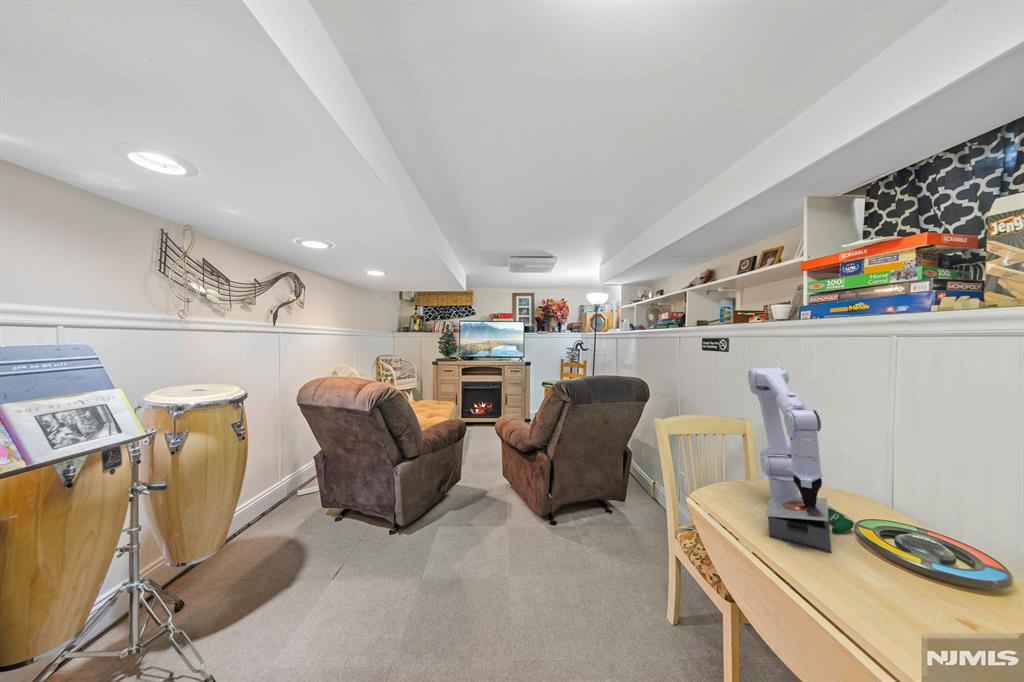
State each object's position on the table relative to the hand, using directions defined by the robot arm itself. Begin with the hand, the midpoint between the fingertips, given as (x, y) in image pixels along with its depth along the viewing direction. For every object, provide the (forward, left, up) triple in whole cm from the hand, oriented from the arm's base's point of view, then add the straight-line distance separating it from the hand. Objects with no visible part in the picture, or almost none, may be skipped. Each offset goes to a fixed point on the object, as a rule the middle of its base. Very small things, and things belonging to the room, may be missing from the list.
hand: (809, 505), depth 87 cm
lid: (0, -3, -2) cm, 3 cm away
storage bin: (0, -3, -8) cm, 9 cm away
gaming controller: (-10, +4, -9) cm, 14 cm away
